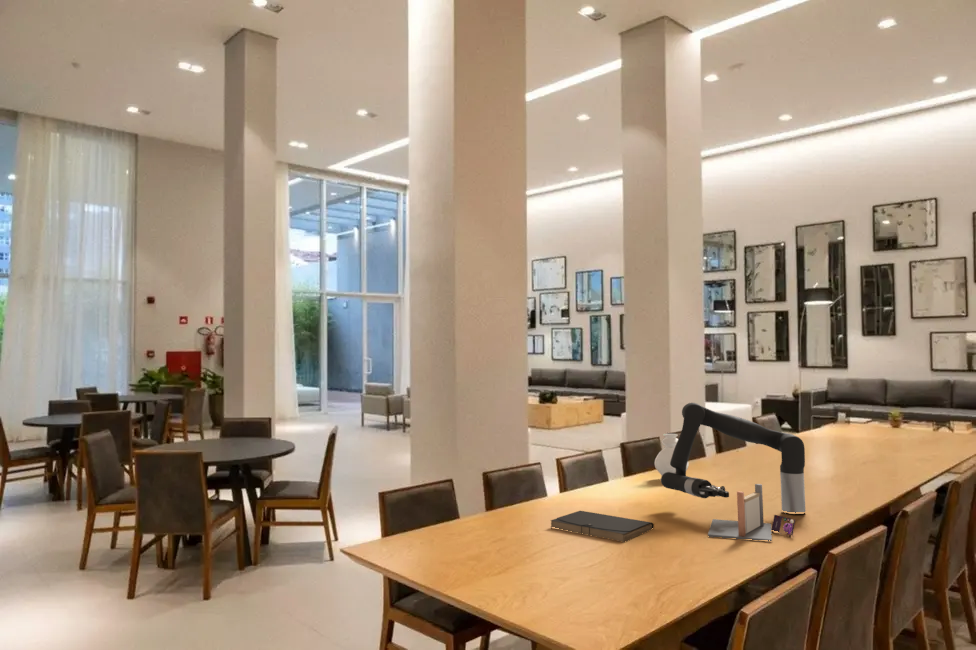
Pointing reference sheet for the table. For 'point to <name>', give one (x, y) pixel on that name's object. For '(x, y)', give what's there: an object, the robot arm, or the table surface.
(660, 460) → the decorative vase
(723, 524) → the board
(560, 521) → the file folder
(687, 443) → the robot arm
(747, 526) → the panel
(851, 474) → the table surface
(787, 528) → the purple decorated picture frame
